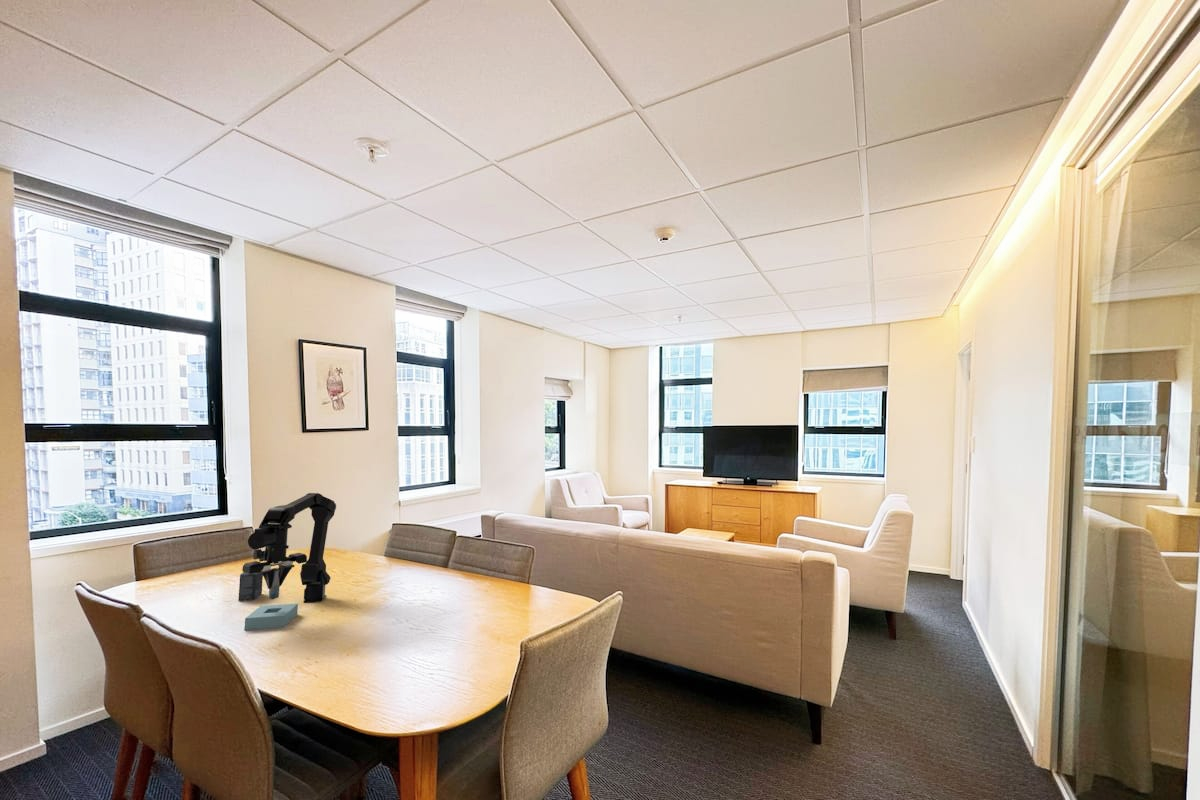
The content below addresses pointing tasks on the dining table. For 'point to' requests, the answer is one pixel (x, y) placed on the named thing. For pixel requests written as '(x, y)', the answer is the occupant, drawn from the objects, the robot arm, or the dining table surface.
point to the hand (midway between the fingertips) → (274, 587)
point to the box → (250, 586)
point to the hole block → (271, 616)
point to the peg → (275, 584)
